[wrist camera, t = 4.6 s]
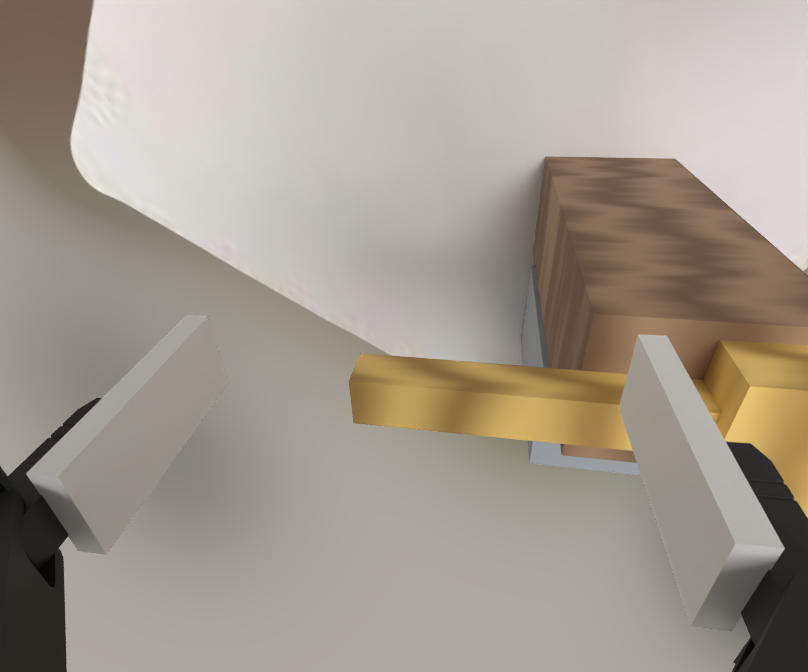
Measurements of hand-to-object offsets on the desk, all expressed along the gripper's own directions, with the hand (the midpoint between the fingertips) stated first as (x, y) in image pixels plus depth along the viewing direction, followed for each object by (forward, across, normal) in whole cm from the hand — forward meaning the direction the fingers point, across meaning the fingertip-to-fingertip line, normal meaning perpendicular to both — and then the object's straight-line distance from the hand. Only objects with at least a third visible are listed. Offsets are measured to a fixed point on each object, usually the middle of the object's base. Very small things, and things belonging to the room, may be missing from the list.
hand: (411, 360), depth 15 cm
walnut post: (+39, +14, -8) cm, 42 cm away
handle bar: (+9, +8, -8) cm, 15 cm away
